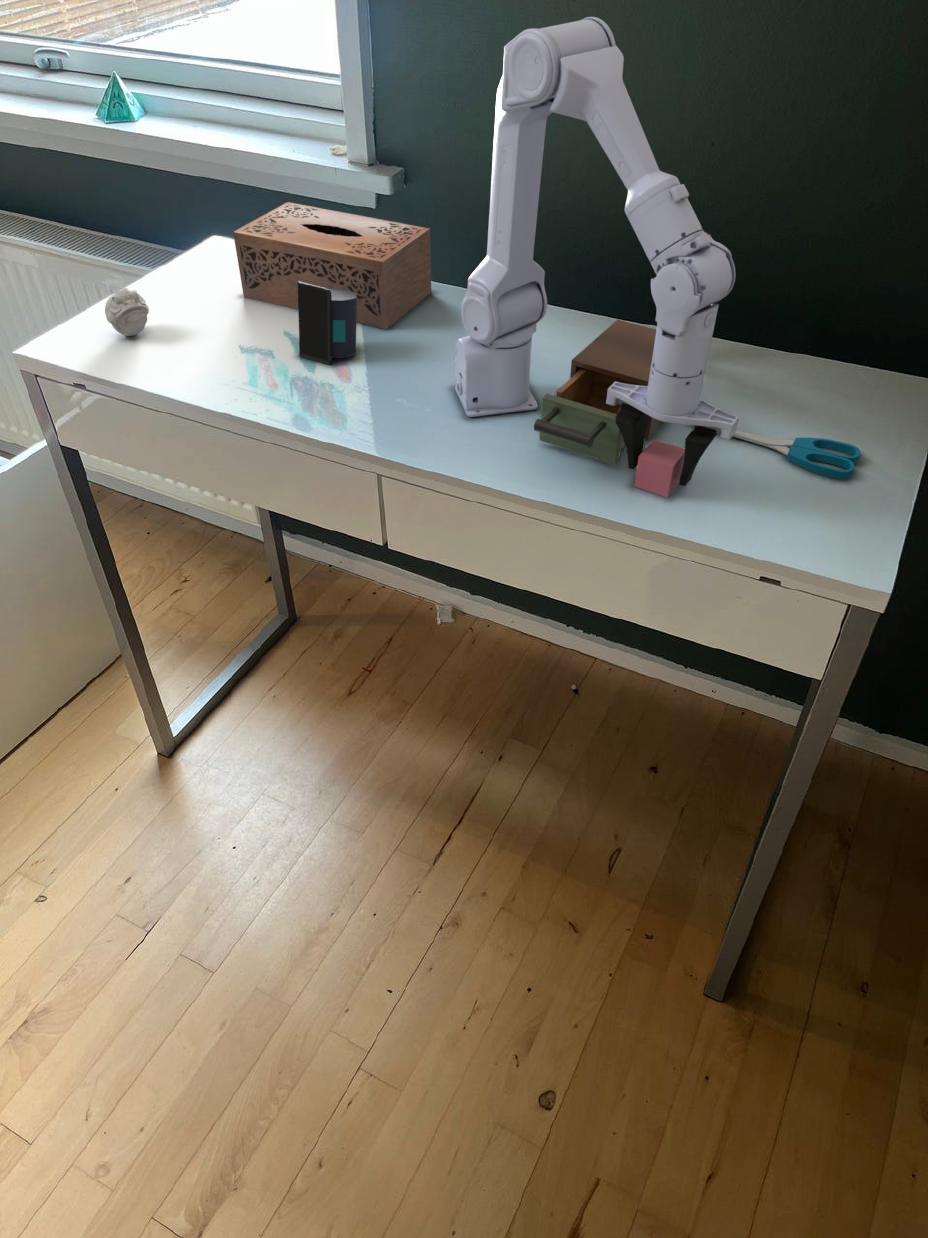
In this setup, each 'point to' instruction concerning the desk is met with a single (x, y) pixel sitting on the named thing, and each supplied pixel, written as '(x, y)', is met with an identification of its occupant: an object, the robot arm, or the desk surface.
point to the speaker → (326, 323)
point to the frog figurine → (127, 312)
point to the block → (659, 468)
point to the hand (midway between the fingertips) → (659, 473)
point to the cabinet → (621, 357)
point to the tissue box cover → (335, 260)
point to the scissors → (811, 453)
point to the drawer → (583, 417)
